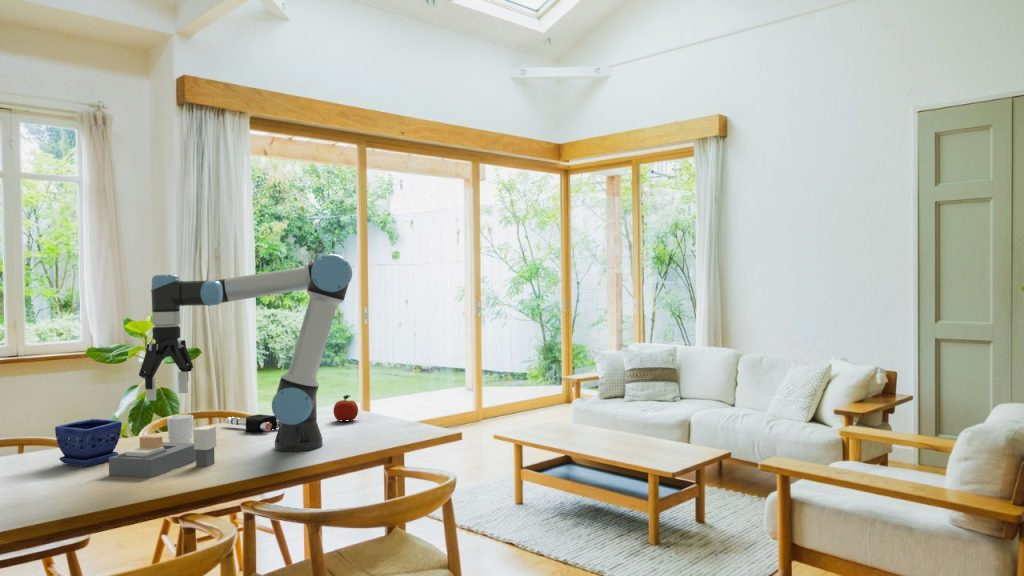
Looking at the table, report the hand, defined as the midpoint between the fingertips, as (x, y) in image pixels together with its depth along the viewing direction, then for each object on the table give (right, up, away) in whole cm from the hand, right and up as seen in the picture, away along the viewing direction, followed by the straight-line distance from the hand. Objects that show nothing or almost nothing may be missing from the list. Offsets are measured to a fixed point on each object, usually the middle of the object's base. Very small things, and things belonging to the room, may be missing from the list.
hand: (167, 396), depth 208 cm
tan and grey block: (-3, -15, -8) cm, 17 cm away
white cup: (-7, -21, +23) cm, 32 cm away
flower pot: (-26, -21, +3) cm, 33 cm away
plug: (+12, -20, -2) cm, 24 cm away
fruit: (+38, -20, +63) cm, 77 cm away
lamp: (+6, -20, +50) cm, 54 cm away
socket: (-2, -20, -4) cm, 21 cm away
